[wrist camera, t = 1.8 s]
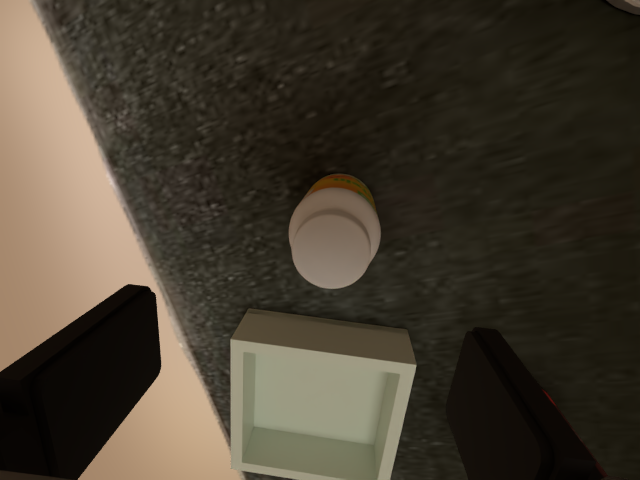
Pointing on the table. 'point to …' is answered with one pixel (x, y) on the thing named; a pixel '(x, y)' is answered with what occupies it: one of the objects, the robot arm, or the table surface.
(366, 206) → the supplement bottle
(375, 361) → the bin
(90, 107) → the table surface
